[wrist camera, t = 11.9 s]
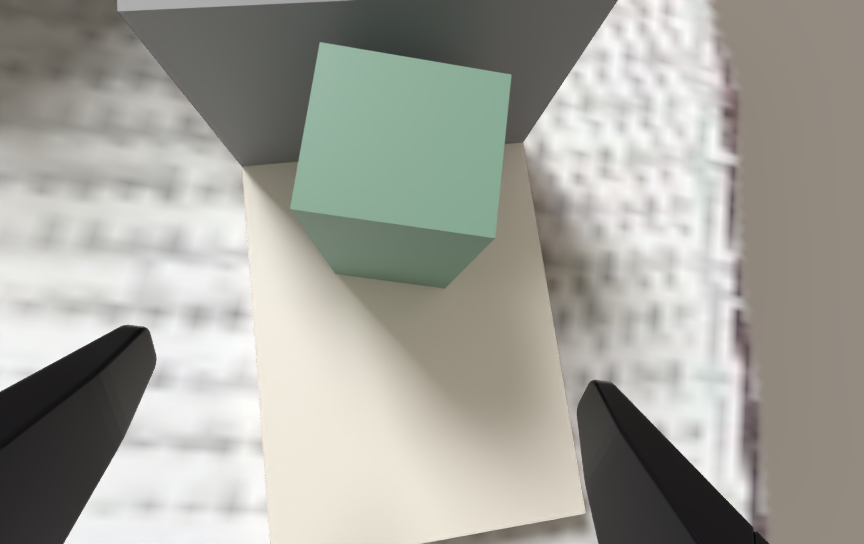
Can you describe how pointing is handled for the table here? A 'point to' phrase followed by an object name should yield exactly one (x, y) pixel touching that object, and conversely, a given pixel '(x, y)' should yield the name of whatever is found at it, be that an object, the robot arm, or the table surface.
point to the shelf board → (385, 300)
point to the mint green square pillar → (400, 164)
